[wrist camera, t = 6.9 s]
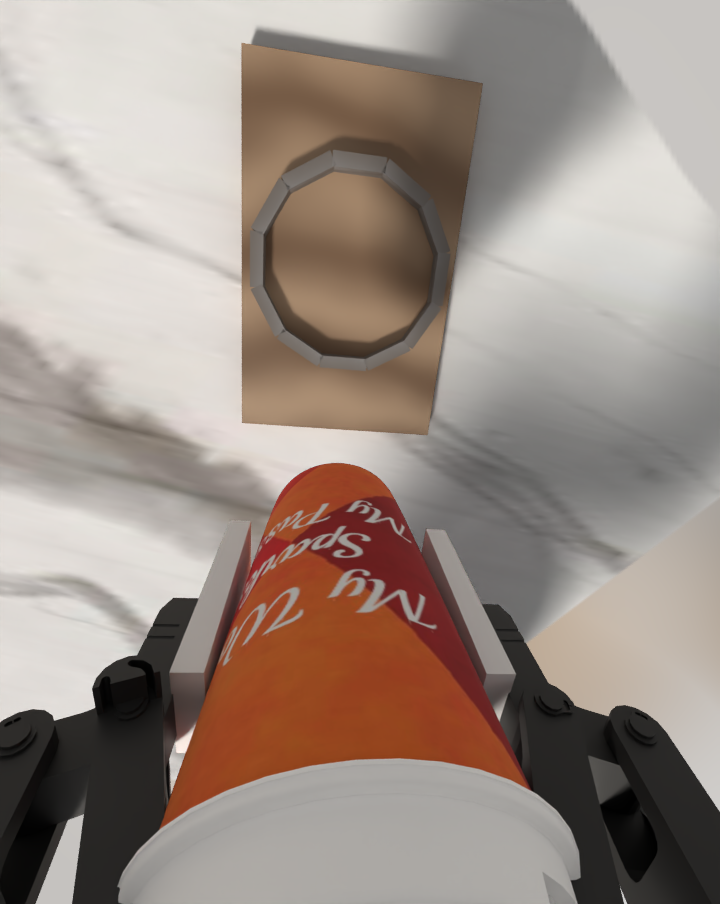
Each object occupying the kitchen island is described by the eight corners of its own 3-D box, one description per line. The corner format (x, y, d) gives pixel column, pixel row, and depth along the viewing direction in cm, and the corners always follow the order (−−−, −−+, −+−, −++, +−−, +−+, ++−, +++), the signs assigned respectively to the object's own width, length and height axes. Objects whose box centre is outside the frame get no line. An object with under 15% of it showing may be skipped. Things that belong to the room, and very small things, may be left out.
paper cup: (375, 407, 17) (540, 802, 4) (445, 545, 20) (677, 1042, 7) (211, 490, 18) (-99, 1048, 5) (301, 612, 21) (261, 1170, 8)
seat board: (422, 429, 34) (431, 439, 31) (245, 417, 32) (239, 427, 29) (474, 94, 26) (490, 73, 24) (246, 57, 24) (237, 29, 22)
